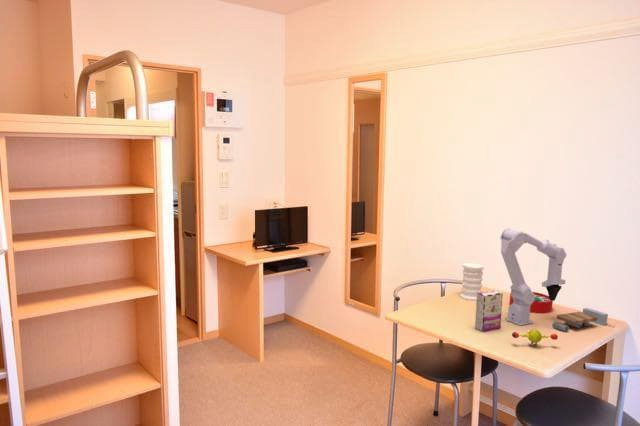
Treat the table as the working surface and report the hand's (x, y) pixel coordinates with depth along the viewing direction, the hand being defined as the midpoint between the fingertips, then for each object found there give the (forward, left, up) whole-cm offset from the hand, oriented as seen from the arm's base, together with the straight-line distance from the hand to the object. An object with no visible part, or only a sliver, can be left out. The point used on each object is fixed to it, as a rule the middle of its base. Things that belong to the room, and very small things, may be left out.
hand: (552, 300), depth 224 cm
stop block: (+17, -11, -9) cm, 22 cm away
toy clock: (+8, +17, -10) cm, 21 cm away
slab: (+4, -11, -6) cm, 13 cm away
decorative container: (-9, +41, -10) cm, 43 cm away
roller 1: (-10, -11, -8) cm, 17 cm away
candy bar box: (-38, +4, -10) cm, 39 cm away
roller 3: (+7, -11, -10) cm, 16 cm away
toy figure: (-36, -18, -10) cm, 41 cm away
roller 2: (+1, -11, -6) cm, 13 cm away
